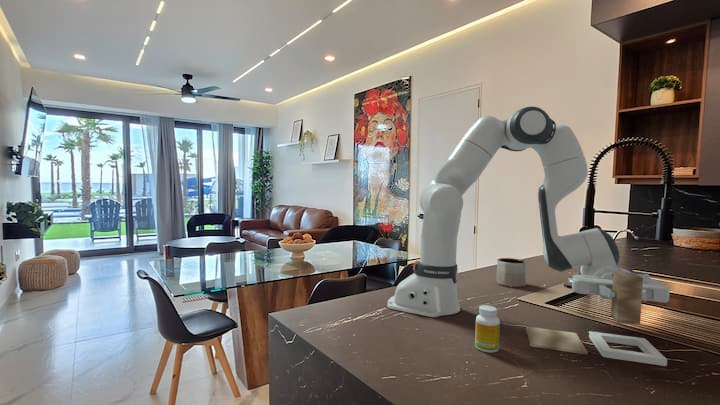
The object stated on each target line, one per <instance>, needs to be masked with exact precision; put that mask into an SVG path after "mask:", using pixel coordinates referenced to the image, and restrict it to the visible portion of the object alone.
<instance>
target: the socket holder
mask: <svg viewBox="0 0 720 405" xmlns="http://www.w3.org/2000/svg"><path fill="white" fill-rule="evenodd" d="M588 332H589V334H588V338H589V339H590V341H591V342H592V343H593V345H594V346H595V348H596V349H597V351H598V352H599V353H600V355H601V356H602V357H603V358H608V359H614V360H621V361H628V362H634V363H635V362H636V363H641V364H647V365H648V364H650V365H656V366H661V367H667V366H668V359H667V358H666V357H665V356H664V355H663V354H662V353H661V352H660V351H659V349H657V348H655V347H654V346H653V345H652V343H650V342H649V340H648V339H646V338H645V337H637V336H629V335H621V334H615V333H614V334H613V333H606V332H598V331H592V330H591V331H590V330H589V331H588ZM608 343H609V344H618V345H619V344H620V345H625V346H632V347H633V346H634V347H638V348H639V349H640V350H641V351H642V352H640V351H639V352H638V351H633V350H626V349H619V348H618V349H617V348H611V347H610V346H609V344H608Z"/></svg>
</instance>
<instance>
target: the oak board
mask: <svg viewBox="0 0 720 405" xmlns="http://www.w3.org/2000/svg"><path fill="white" fill-rule="evenodd" d="M525 331H526V334H527V338H528V341H529V346H530V347H533V348H540V349H547V350H553V351H554V350H555V351H561V352H565V353H566V352H568V353H574V354H580V355H588V353H589V352H588V350H587V349H586V347H585V346H584V343H583V342H582V341H581V339H580V337H579V336H578V334H577V333H576V332H570V331H565V330H555V329H549V328H541V327H534V326H525Z"/></svg>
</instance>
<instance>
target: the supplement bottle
mask: <svg viewBox="0 0 720 405" xmlns="http://www.w3.org/2000/svg"><path fill="white" fill-rule="evenodd" d="M478 307H479V310H478V312H479V314H478V315H477V316H476V318H475V332H474V333H475V336H474V346H475V348H476V349H477V350H479V351H481V352H483V353H488V354H489V353H492V354H493V353H496V352H498V351H499V350H500V332H501V331H500V330H501V321H500V318H499V317H498V316H497V315H498V308H497V307H495V306H493V305H489V304H487V305H486V304H485V305H483V304H482V305H480V306H478Z"/></svg>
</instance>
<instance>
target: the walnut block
mask: <svg viewBox="0 0 720 405" xmlns="http://www.w3.org/2000/svg"><path fill="white" fill-rule="evenodd" d="M642 286H643V278H642V277H641V276H639V275H637V274H634V273H623V272H613V290H615V291H616V292H617V294H616V296H617V297H616V298H612V300H611V310H610V317H611V318H612V319H613V320H614V321H615V322H616V323H619V324H628V325H636V326H641V317H642V316H641V315H642V302H643V301H642Z"/></svg>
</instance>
